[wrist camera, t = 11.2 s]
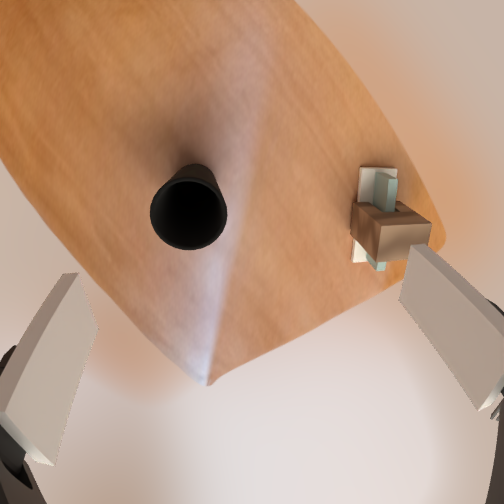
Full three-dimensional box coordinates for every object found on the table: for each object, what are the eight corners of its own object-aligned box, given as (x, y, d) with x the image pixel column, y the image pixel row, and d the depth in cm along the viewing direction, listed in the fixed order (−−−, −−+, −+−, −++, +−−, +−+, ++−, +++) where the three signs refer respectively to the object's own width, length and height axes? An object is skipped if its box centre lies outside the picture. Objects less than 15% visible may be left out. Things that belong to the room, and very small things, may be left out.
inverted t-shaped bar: (359, 167, 43) (374, 175, 38) (394, 168, 43) (411, 176, 39) (350, 260, 49) (362, 275, 45) (383, 257, 50) (396, 271, 46)
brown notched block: (353, 202, 44) (381, 226, 36) (399, 201, 45) (432, 223, 37) (350, 233, 46) (376, 262, 38) (395, 231, 47) (425, 257, 39)
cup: (198, 144, 39) (192, 160, 28) (235, 187, 42) (243, 219, 32) (154, 181, 40) (134, 212, 30) (192, 222, 44) (185, 264, 33)
